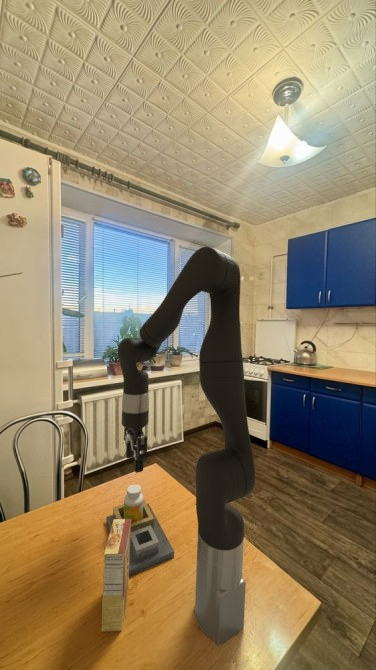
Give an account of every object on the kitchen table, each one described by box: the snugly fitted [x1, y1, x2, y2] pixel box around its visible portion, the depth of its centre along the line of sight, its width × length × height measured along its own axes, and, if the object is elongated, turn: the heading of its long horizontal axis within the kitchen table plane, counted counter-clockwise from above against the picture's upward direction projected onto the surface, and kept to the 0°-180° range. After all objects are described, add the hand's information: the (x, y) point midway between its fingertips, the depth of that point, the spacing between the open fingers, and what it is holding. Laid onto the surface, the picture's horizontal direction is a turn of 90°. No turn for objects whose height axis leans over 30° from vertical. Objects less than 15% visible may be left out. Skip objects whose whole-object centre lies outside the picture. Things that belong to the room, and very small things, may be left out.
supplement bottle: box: [123, 484, 144, 523], centre depth 73 cm, size 5×5×10 cm
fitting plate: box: [105, 497, 175, 578], centre depth 69 cm, size 19×13×4 cm
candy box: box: [101, 519, 131, 633], centre depth 52 cm, size 9×4×15 cm, turn 6°
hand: (134, 464), depth 73 cm, fingers open, 8 cm apart
